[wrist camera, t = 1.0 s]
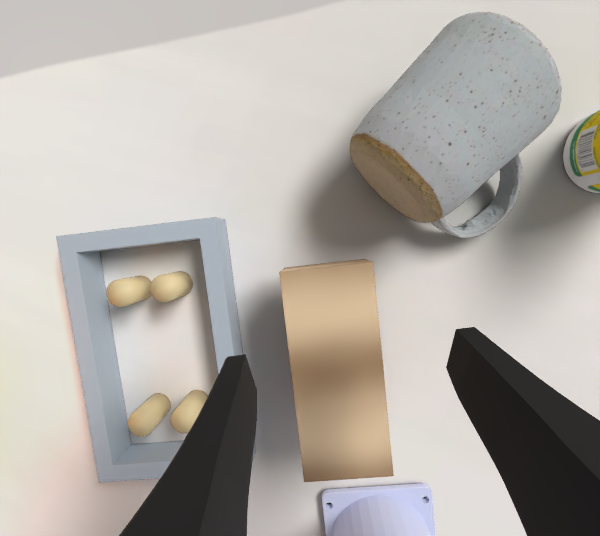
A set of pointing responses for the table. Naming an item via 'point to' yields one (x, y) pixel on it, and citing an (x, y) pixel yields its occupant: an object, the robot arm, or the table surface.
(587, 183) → the supplement bottle
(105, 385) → the peg frame
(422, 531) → the robot arm
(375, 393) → the tan rectangular block
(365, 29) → the table surface
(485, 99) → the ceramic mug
